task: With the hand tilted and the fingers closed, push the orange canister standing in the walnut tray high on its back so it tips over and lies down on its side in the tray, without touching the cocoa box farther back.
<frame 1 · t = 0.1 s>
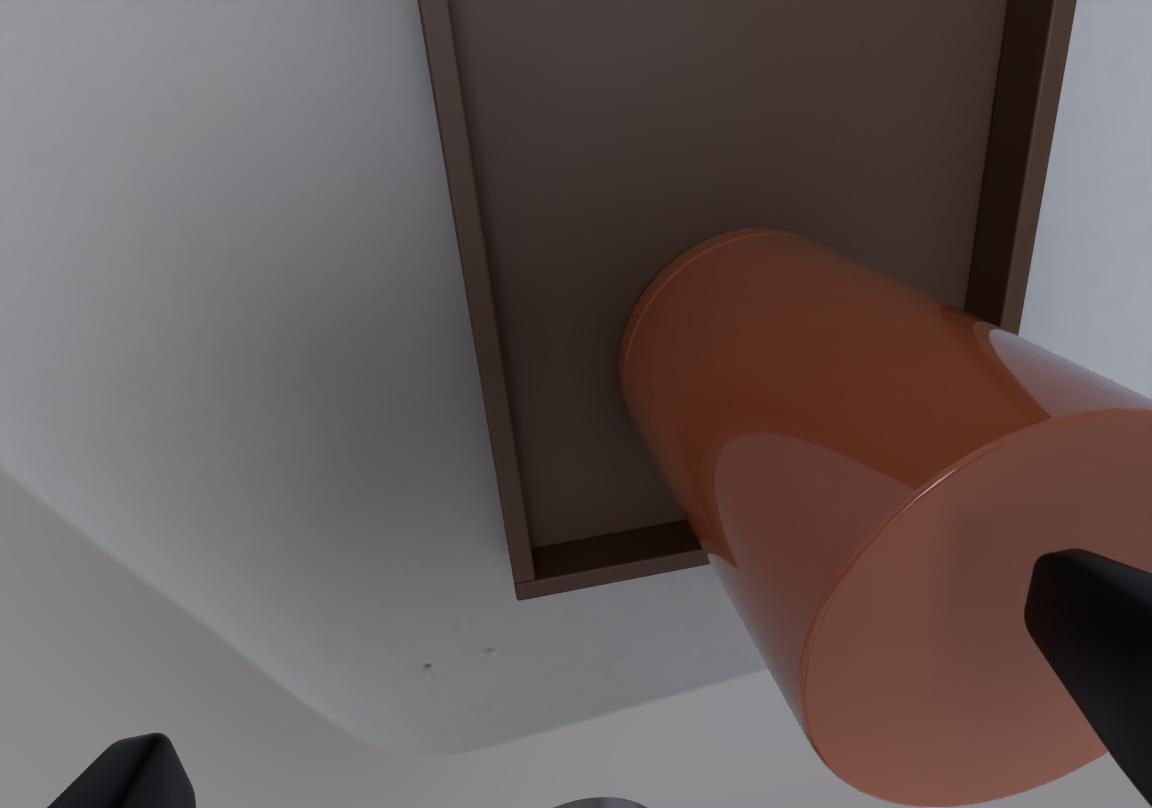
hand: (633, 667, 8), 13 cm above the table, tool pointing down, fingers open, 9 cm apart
orange canister: (743, 356, 20), point 1 cm above the table, touching walnut tray
walnut tray: (731, 162, 19), on the table
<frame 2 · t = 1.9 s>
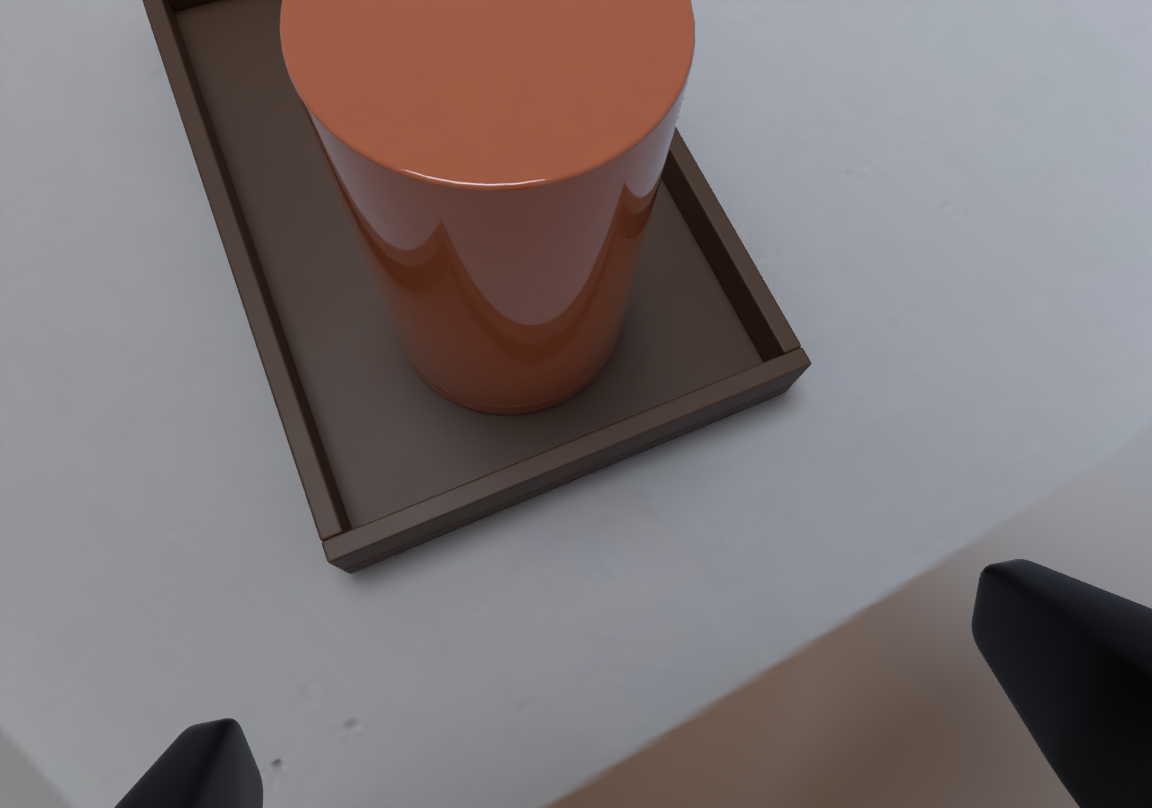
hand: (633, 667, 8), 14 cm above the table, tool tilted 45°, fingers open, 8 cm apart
orange canister: (509, 308, 23), point 1 cm above the table, touching walnut tray
walnut tray: (453, 195, 25), on the table
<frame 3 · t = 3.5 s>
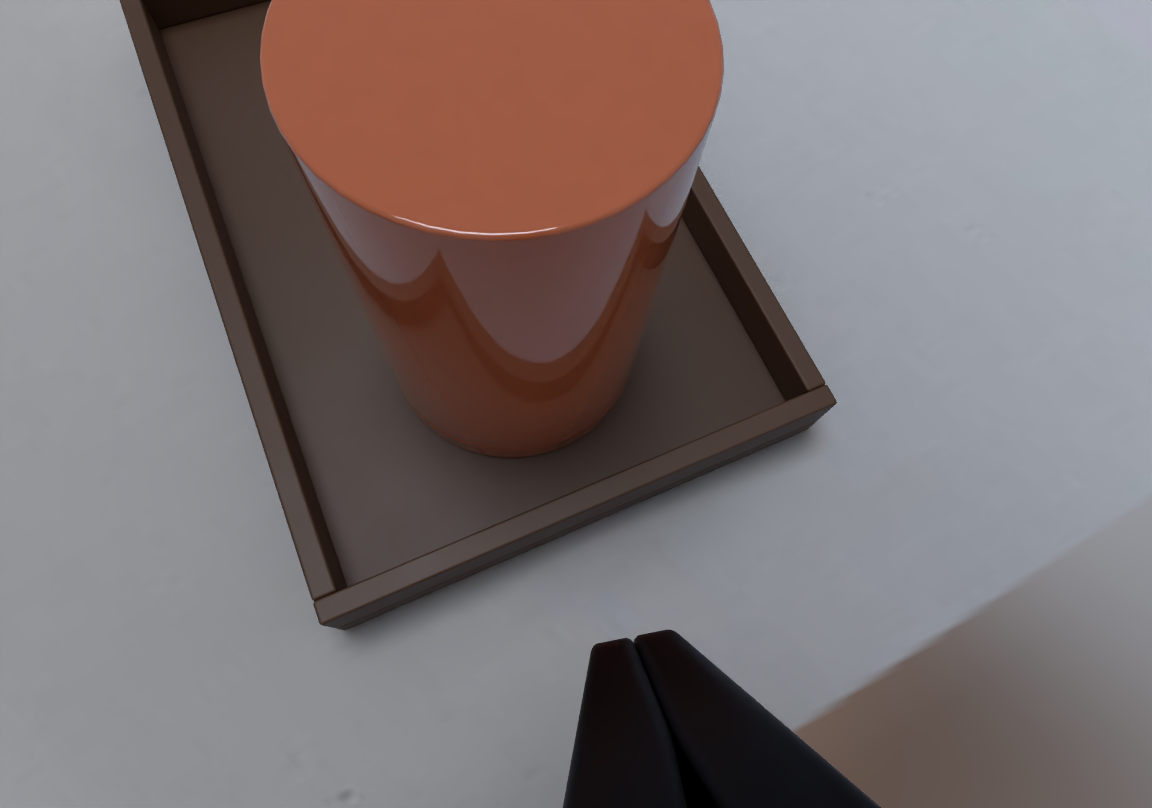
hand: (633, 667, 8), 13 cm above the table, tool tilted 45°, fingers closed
orange canister: (513, 342, 22), point 1 cm above the table, touching walnut tray
walnut tray: (454, 220, 24), on the table
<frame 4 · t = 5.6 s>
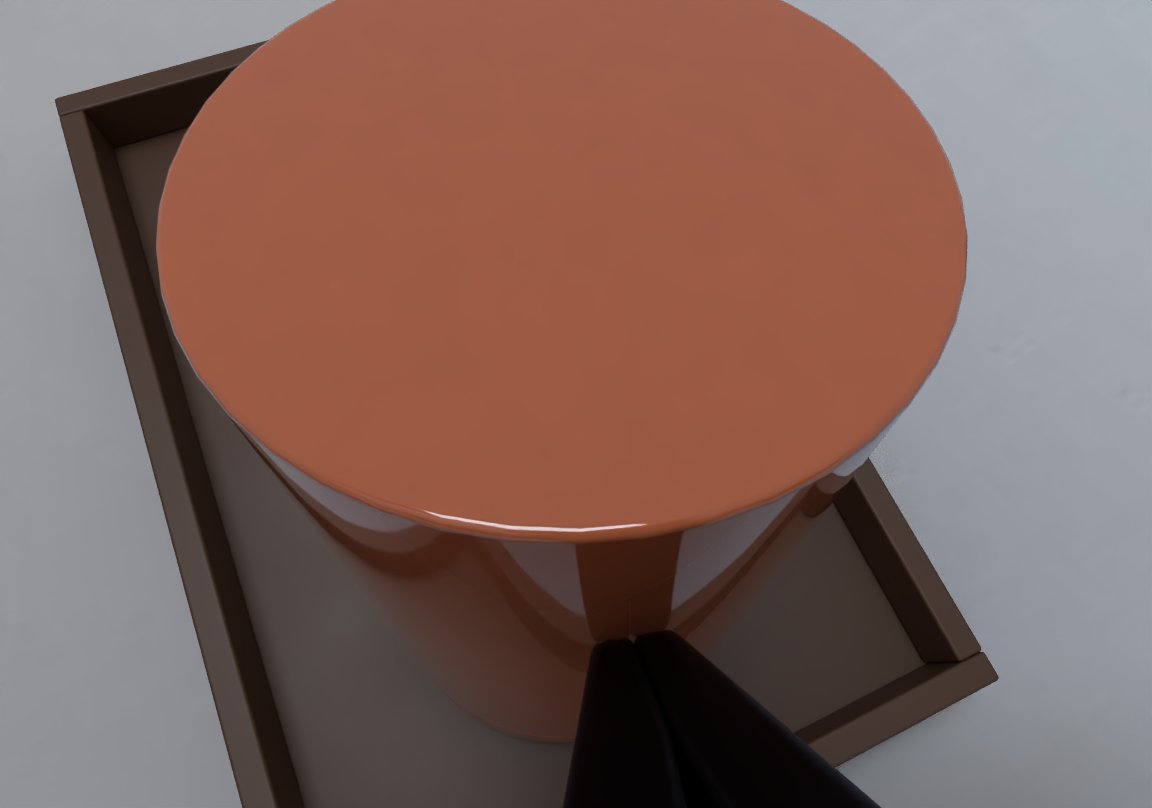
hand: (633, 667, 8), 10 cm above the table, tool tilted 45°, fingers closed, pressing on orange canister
orange canister: (562, 566, 16), point 1 cm above the table, tilted 11°, touching gripper, walnut tray
walnut tray: (481, 393, 19), on the table
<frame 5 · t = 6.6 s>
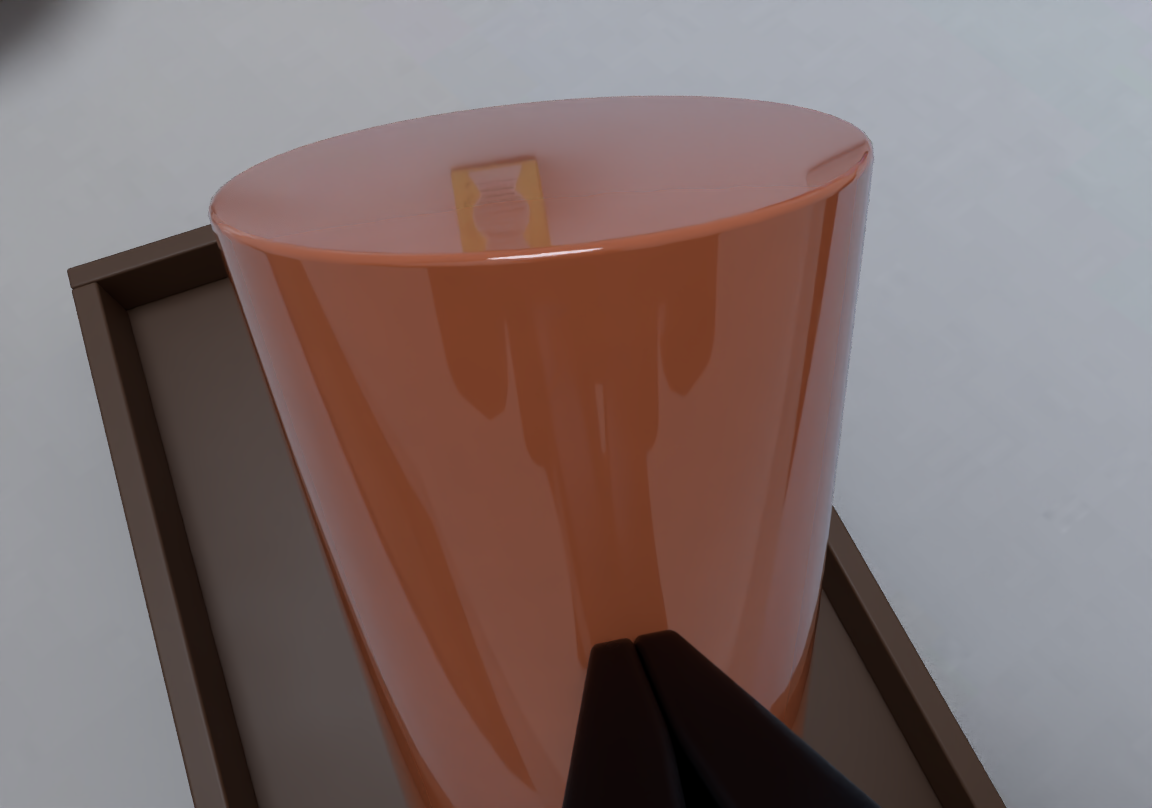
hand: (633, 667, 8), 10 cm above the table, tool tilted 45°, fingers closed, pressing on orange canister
orange canister: (601, 757, 14), point 3 cm above the table, tilted 39°, touching gripper, walnut tray
walnut tray: (511, 573, 18), on the table
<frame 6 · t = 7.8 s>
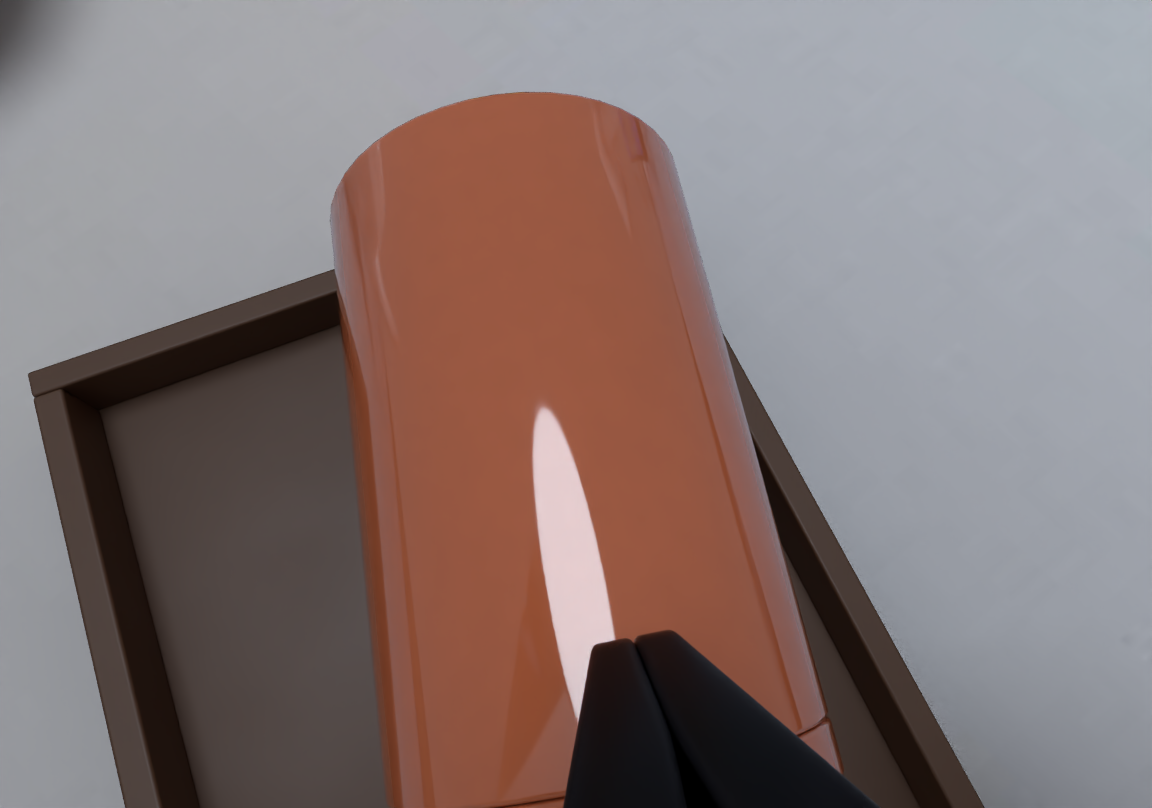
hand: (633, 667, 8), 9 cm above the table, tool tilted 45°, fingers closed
orange canister: (619, 807, 12), point 4 cm above the table, tilted 90°, touching walnut tray
walnut tray: (533, 715, 16), on the table
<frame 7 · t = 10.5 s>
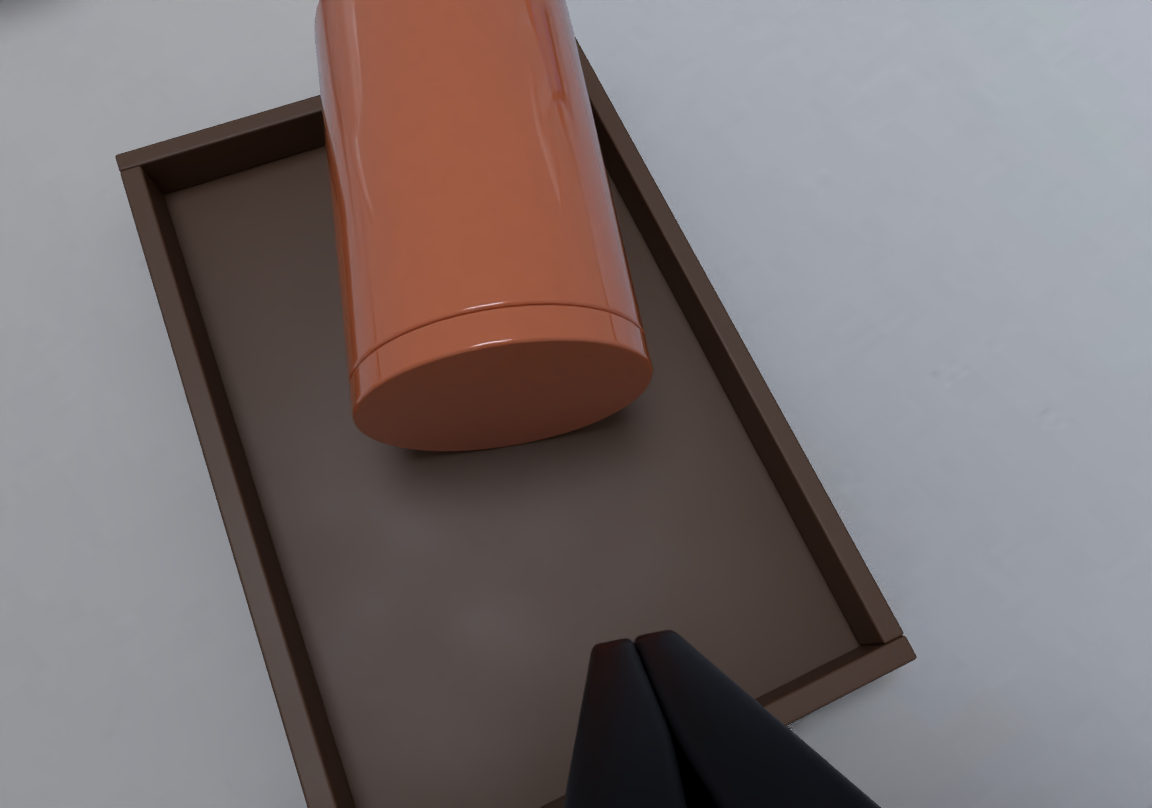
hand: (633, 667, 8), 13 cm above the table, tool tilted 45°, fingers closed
orange canister: (507, 405, 17), point 4 cm above the table, tilted 90°, touching walnut tray
walnut tray: (486, 412, 22), on the table
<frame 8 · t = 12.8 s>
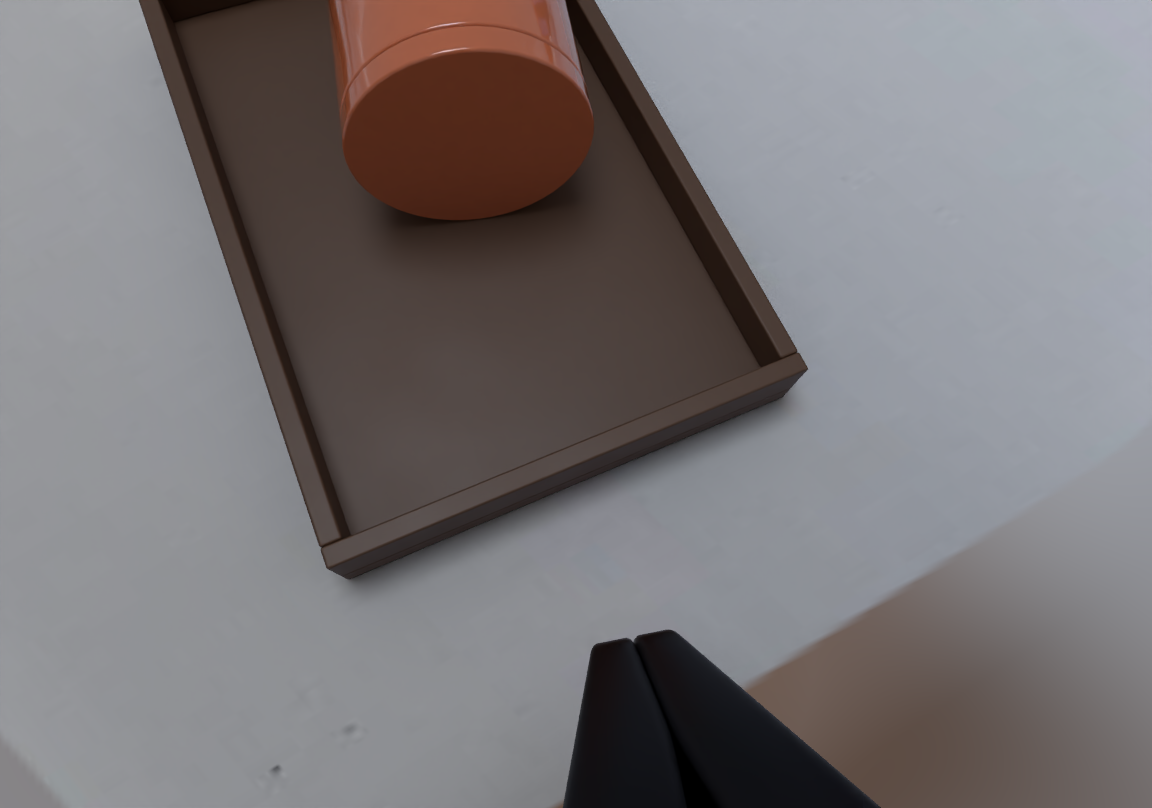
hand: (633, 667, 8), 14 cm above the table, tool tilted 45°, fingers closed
orange canister: (472, 148, 21), point 4 cm above the table, tilted 90°, touching walnut tray
walnut tray: (451, 202, 25), on the table
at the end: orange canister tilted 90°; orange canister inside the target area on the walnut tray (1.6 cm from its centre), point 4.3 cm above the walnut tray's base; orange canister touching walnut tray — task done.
